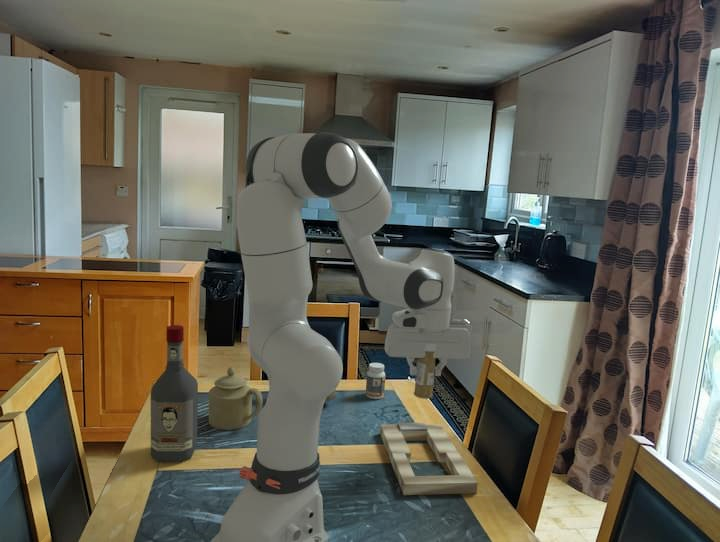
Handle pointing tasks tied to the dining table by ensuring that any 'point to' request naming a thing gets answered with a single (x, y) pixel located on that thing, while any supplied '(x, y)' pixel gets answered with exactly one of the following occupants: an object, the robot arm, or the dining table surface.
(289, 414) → the robot arm
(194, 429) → the liquor
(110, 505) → the dining table surface
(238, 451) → the dining table surface
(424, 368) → the sprinkles bottle
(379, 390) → the pill bottle
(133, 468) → the dining table surface
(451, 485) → the keyhole board
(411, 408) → the dining table surface
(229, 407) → the sugar bowl
